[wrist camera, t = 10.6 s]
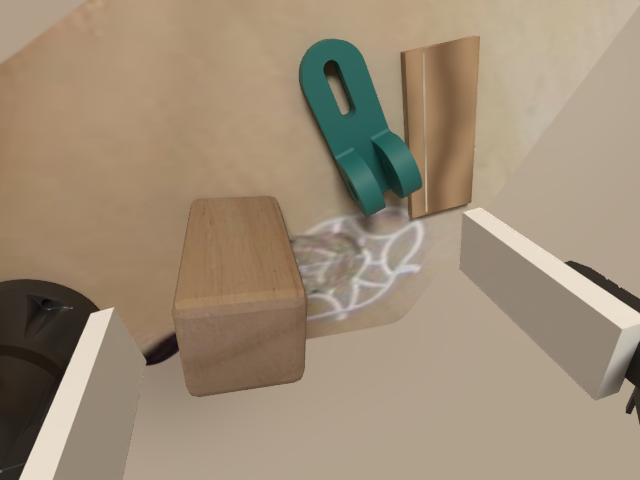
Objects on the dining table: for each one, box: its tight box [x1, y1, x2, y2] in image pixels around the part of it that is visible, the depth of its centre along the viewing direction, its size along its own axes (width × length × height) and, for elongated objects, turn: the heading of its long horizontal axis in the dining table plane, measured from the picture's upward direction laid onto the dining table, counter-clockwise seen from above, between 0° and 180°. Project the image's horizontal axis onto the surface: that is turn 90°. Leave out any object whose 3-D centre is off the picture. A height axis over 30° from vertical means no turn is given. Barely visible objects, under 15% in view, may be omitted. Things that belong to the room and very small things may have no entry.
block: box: [172, 196, 307, 397], centre depth 37 cm, size 10×10×20 cm
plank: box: [401, 36, 480, 218], centre depth 45 cm, size 8×20×1 cm, turn 10°
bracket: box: [299, 39, 422, 217], centre depth 39 cm, size 18×7×8 cm, turn 25°
